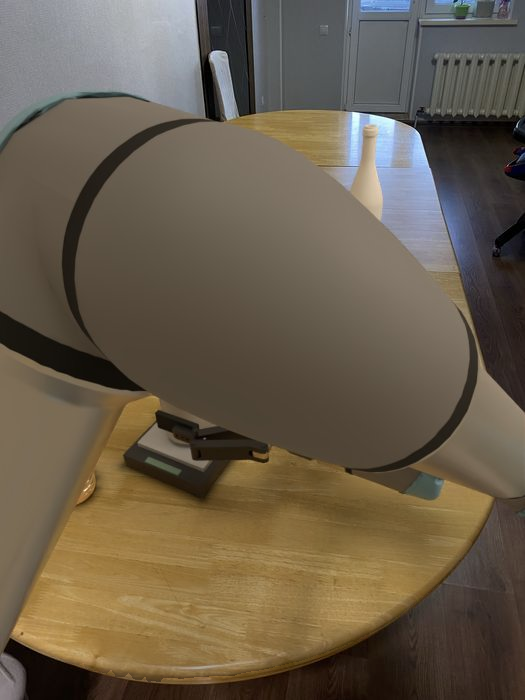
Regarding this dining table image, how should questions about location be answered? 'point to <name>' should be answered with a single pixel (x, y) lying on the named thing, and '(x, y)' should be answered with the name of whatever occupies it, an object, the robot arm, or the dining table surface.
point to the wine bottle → (368, 175)
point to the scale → (172, 462)
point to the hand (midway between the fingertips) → (186, 389)
